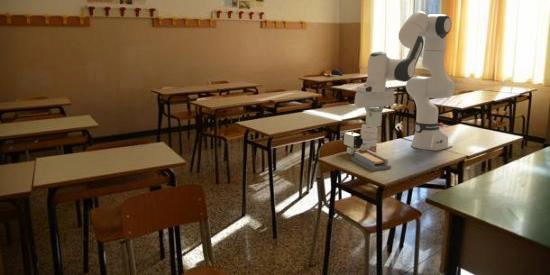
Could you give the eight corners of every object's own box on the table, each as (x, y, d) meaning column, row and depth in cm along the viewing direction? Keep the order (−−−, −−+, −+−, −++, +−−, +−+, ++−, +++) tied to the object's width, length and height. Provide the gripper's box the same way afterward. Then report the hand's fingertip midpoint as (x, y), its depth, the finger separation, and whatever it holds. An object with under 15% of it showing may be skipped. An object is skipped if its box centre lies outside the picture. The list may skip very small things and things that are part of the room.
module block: (372, 122, 203) (373, 106, 201) (381, 125, 197) (382, 109, 195) (365, 123, 202) (366, 107, 200) (373, 126, 195) (374, 109, 193)
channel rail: (369, 157, 214) (370, 149, 213) (390, 168, 198) (391, 159, 196) (351, 160, 210) (351, 151, 209) (371, 171, 194) (371, 162, 193)
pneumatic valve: (355, 157, 215) (356, 134, 212) (341, 151, 225) (341, 130, 222) (363, 155, 218) (364, 133, 215) (348, 150, 228) (349, 128, 225)
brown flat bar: (367, 154, 211) (367, 152, 210) (383, 162, 198) (383, 160, 198) (358, 156, 209) (358, 154, 208) (374, 164, 196) (374, 162, 196)
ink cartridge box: (376, 149, 229) (378, 123, 226) (376, 151, 225) (377, 125, 221) (360, 148, 232) (362, 122, 228) (360, 150, 227) (361, 124, 223)
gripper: (390, 85, 201) (388, 113, 205) (353, 87, 194) (351, 116, 198) (398, 87, 195) (395, 116, 199) (360, 88, 188) (359, 118, 192)
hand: (373, 116), depth 198 cm, fingers closed on module block, 4 cm apart
